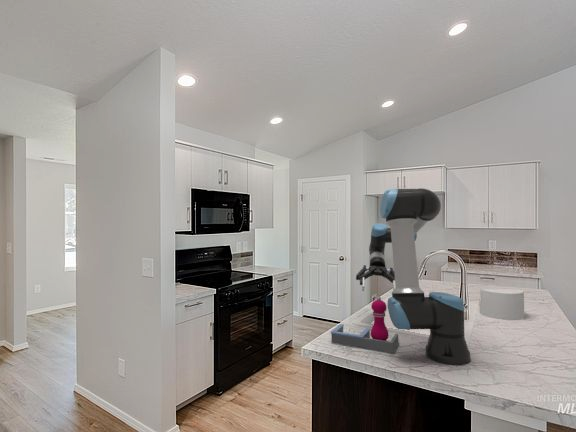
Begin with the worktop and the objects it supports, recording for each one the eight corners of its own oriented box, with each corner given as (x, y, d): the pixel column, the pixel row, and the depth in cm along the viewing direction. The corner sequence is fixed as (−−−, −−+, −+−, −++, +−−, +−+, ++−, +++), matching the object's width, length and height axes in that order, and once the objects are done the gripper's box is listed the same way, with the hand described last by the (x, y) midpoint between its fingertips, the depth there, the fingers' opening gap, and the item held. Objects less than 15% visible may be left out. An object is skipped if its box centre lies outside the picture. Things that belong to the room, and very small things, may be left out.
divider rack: (398, 343, 139) (398, 332, 139) (392, 353, 129) (392, 341, 129) (340, 334, 151) (340, 324, 151) (330, 343, 141) (330, 332, 141)
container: (512, 309, 185) (512, 285, 185) (532, 321, 165) (532, 293, 165) (473, 308, 188) (473, 285, 189) (488, 319, 169) (487, 293, 169)
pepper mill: (389, 349, 133) (388, 298, 134) (371, 348, 135) (370, 298, 135) (388, 342, 141) (387, 294, 141) (370, 341, 142) (369, 294, 142)
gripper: (402, 271, 167) (407, 300, 148) (351, 266, 171) (350, 293, 153) (404, 258, 163) (409, 286, 145) (352, 254, 168) (351, 280, 149)
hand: (379, 290), depth 149 cm, fingers open, 13 cm apart
